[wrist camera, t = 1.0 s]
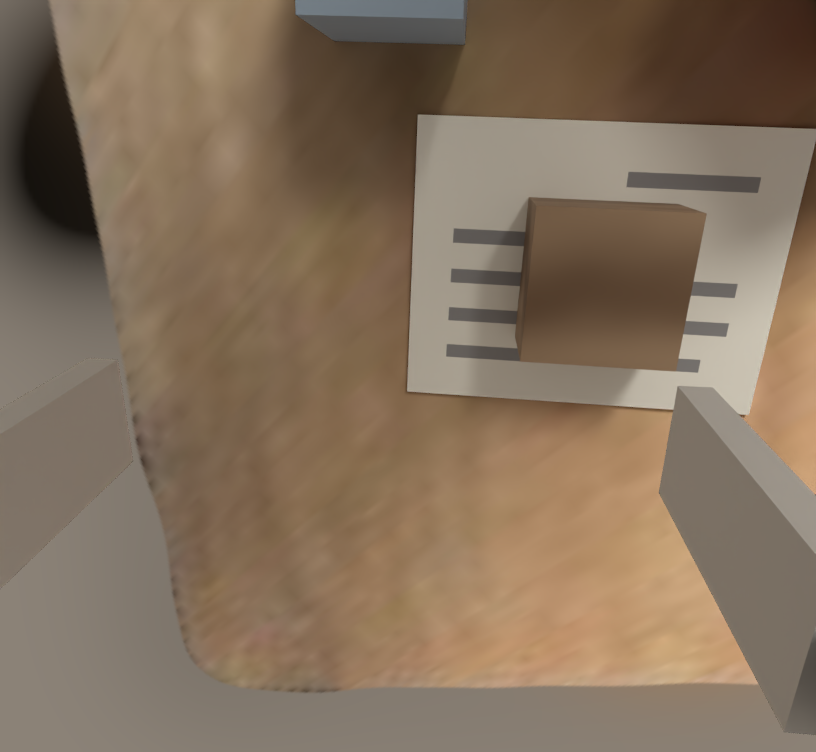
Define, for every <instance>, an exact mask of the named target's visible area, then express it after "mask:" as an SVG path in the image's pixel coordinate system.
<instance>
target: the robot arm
mask: <svg viewBox="0 0 816 752" xmlns="http://www.w3.org/2000/svg"><path fill="white" fill-rule="evenodd" d="M132 462H133V457H132V451H131V443H130V437H129V431H128V424H127V417H126V411H125V404H124V398H123V391H122V384H121V378H120V371H119V364H118V360H115V359H94V358H87V359H85V360H83V361H82V362H80V363H78V364H77V365H75V366H73V367H72V368H70V369H68V370H67V371H65V372H63V373H61V374H60V375H58V376H56V377H54V378H52V379H51V380H49V381H47V382H46V383H44V384H42V385H40V386H39V387H37V388H35V389H34V390H32V391H30V392H28V393H27V394H25V395H23V396H21V397H20V398H18V399H17V400H15V401H13V402H11V403H10V404H8V405H6V406H4V407H3V408H1V409H0V589H1V588H2V587H3V586H4V585H5V584H6V583H7V582H8V581H9V580H10V579H11V578H12V577H13V576H14V575H16V574H17V573H18V572H19V571H20V570H21V569H22V568H23V567H24V566H25V565H26V564H27V563H28V562H29V561H30V560H31V559H32V558H33V557H34V556H35V555H36V554H37V553H38V552H39V551H40V550H41V549H42V548H44V547H45V546H46V545H47V544H48V542H50V541H51V540H52V539H53V538H54V537H55V536H56V535H57V534H58V533H59V532H60V531H61V530H62V529H63V528H64V527H65V526H66V525H67V524H68V523H70V522H71V521H72V520H73V519H74V518H75V517H76V516H77V515H78V514H79V513H80V512H81V511H82V510H83V509H84V508H85V507H86V506H87V505H88V504H89V503H90V502H91V501H92V500H93V499H94V498H95V497H97V496H98V495H99V494H100V492H102V491H103V490H104V489H105V487H107V486H108V485H109V484H110V483H111V482H112V481H113V480H114V479H115V478H116V477H117V476H118V475H119V474H120V473H121V472H122V471H123V470H125V469H126V468H127V467H128V466H129V465H130V464H131V463H132ZM659 494H660V496H661V498H662V500H663V502H664V504H665V505H666V507H667V509H668V511H669V513H670V515H671V517H672V519H673V521H674V523H675V525H676V526H677V528H678V530H679V532H680V534H681V536H682V538H683V540H684V542H685V544H686V546H687V548H688V549H689V551H690V553H691V555H692V557H693V559H694V561H695V563H696V565H697V567H698V569H699V571H700V572H701V574H702V576H703V578H704V580H705V582H706V584H707V586H708V588H709V590H710V592H711V594H712V595H713V597H714V599H715V601H716V603H717V605H718V607H719V609H720V611H721V613H722V615H723V616H724V618H725V620H726V622H727V624H728V626H729V628H730V630H731V632H732V634H733V636H734V638H735V639H736V641H737V643H738V645H739V647H740V649H741V651H742V653H743V655H744V657H745V659H746V661H747V662H748V664H749V666H750V668H751V670H752V672H753V674H754V676H755V678H756V680H757V682H758V683H759V685H760V687H761V689H762V691H763V693H764V695H765V697H766V699H767V701H768V703H769V704H770V706H771V708H772V710H773V712H774V714H775V716H776V718H777V720H778V722H779V724H780V726H781V728H782V729H783V731H784V732H788V733H799V734H811V735H816V495H815V494H814V493H813V492H812V491H811V490H810V489H809V488H808V487H807V486H806V485H805V484H804V483H803V481H802V480H801V479H800V478H799V477H798V476H797V475H796V474H795V473H794V472H793V471H792V470H791V469H790V468H789V467H788V466H787V465H786V464H785V463H784V462H783V461H782V459H781V458H780V457H779V456H778V455H777V454H776V453H775V452H774V451H773V450H772V449H771V448H770V447H769V446H768V445H767V444H766V443H765V442H764V441H763V440H762V438H761V437H760V436H759V435H758V434H757V433H756V432H755V431H754V430H753V429H752V428H751V427H750V426H749V425H748V424H747V423H746V422H745V421H744V420H743V419H742V418H741V416H740V415H739V414H738V413H737V412H736V411H735V410H734V409H733V408H732V407H731V406H730V405H729V404H728V403H727V402H726V401H725V400H724V399H723V398H722V397H721V396H720V394H719V393H718V392H717V391H716V390H715V389H714V388H713V387H693V386H677V392H676V398H675V403H674V409H673V415H672V421H671V426H670V432H669V438H668V443H667V449H666V455H665V461H664V466H663V472H662V478H661V483H660V489H659Z"/></svg>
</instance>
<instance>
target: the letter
mask: <svg viewBox="0 0 816 752" xmlns="http://www.w3.org/2000/svg"><path fill="white" fill-rule="evenodd" d="M815 142H816V129H803V128H775V127H748V126H721V125H693V124H666V123H638V122H611V121H584V120H556V119H529V118H501V117H474V116H447V115H419V114H418V122H417V148H416V174H415V200H414V226H413V252H412V278H411V304H410V330H409V356H408V382H407V392H422V393H437V394H451V395H466V396H480V397H495V398H509V399H524V400H539V401H553V402H568V403H582V404H597V405H611V406H626V407H640V408H655V409H670V410H673V409H674V403H675V398H676V392H677V386H693V387H713V388H714V389H715V390H716V391H717V392H718V393H719V394H720V396H721V397H722V398H723V399H724V400H725V401H726V402H727V403H728V404H729V405H730V406H731V407H732V408H733V409H734V410H735V411H736V412H737V413H738V414H742V415H749V412H750V408H751V404H752V400H753V396H754V392H755V387H756V383H757V379H758V375H759V371H760V367H761V363H762V359H763V355H764V351H765V347H766V342H767V338H768V334H769V330H770V326H771V322H772V318H773V314H774V310H775V306H776V302H777V297H778V293H779V289H780V285H781V281H782V277H783V273H784V269H785V265H786V261H787V257H788V253H789V248H790V244H791V240H792V236H793V232H794V228H795V224H796V220H797V216H798V212H799V208H800V203H801V199H802V195H803V191H804V187H805V183H806V179H807V175H808V171H809V167H810V163H811V158H812V154H813V150H814V146H815ZM529 197H538V198H560V199H582V200H604V201H626V202H648V203H670V204H680V205H683V206H686V207H689V208H692V209H695V210H698V211H701V212H704V213H707V215H706V220H705V225H704V231H703V236H702V241H701V246H700V251H699V256H698V261H697V266H696V271H695V277H694V282H693V287H692V292H691V297H690V302H689V307H688V312H687V317H686V323H685V328H684V333H683V338H682V343H681V348H680V353H679V358H678V363H677V369H676V372H674V371H659V370H643V369H627V368H612V367H596V366H581V365H565V364H550V363H534V362H520V358H519V353H518V349H517V344H516V339H515V330H516V320H517V310H518V300H519V290H520V280H521V270H522V260H523V250H524V240H525V229H526V219H527V209H528V199H529Z"/></svg>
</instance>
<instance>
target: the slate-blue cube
mask: <svg viewBox="0 0 816 752" xmlns="http://www.w3.org/2000/svg"><path fill="white" fill-rule="evenodd" d="M467 3H468V0H295V7H296V15H297V16H298V17H300V18H301V19H303V20H304V21H306V22H307V23H309V24H310V25H311V26H313V27H314V28H316V29H317V30H319V31H320V32H322V33H323V34H325V35H326V36H328V37H329V38H330V39H332V40H333V41H349V42H384V43H420V44H455V45H465V36H466V20H467Z"/></svg>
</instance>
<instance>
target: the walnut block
mask: <svg viewBox="0 0 816 752" xmlns="http://www.w3.org/2000/svg"><path fill="white" fill-rule="evenodd" d="M706 215H707V213H704V212H701V211H698V210H695V209H692V208H689V207H686V206H683V205H680V204H670V203H648V202H626V201H604V200H582V199H560V198H538V197H529V199H528V209H527V219H526V229H525V240H524V250H523V260H522V270H521V280H520V290H519V300H518V310H517V320H516V330H515V339H516V344H517V349H518V353H519V358H520V362H534V363H550V364H565V365H581V366H596V367H612V368H627V369H643V370H659V371H674V372H676V369H677V363H678V358H679V353H680V348H681V343H682V338H683V333H684V328H685V323H686V317H687V312H688V307H689V302H690V297H691V292H692V287H693V282H694V277H695V271H696V266H697V261H698V256H699V251H700V246H701V241H702V236H703V231H704V225H705V220H706Z"/></svg>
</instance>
